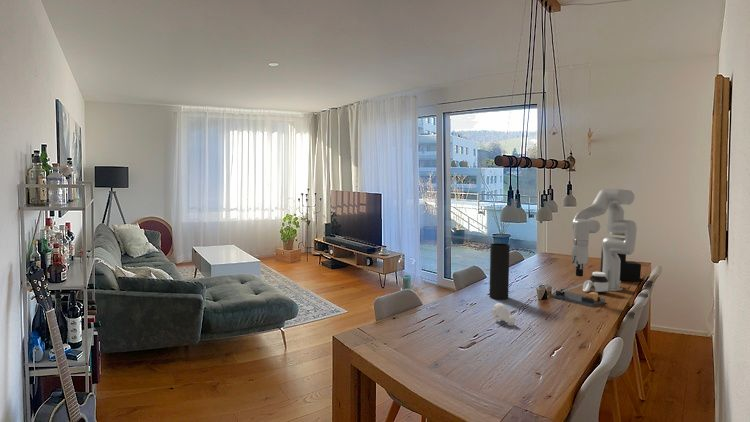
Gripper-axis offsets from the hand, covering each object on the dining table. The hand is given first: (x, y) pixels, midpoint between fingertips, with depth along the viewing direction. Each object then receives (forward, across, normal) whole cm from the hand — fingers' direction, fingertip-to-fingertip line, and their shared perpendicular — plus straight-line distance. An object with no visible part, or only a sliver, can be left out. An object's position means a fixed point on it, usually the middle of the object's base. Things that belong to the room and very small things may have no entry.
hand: (579, 276), depth 249 cm
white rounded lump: (+15, +65, -2) cm, 66 cm away
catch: (+12, 0, +7) cm, 14 cm away
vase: (+14, +30, -31) cm, 45 cm away
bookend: (+13, -72, -8) cm, 73 cm away
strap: (+9, 0, -5) cm, 10 cm away
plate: (+14, 0, -1) cm, 14 cm away
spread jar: (+14, -24, -3) cm, 28 cm away
